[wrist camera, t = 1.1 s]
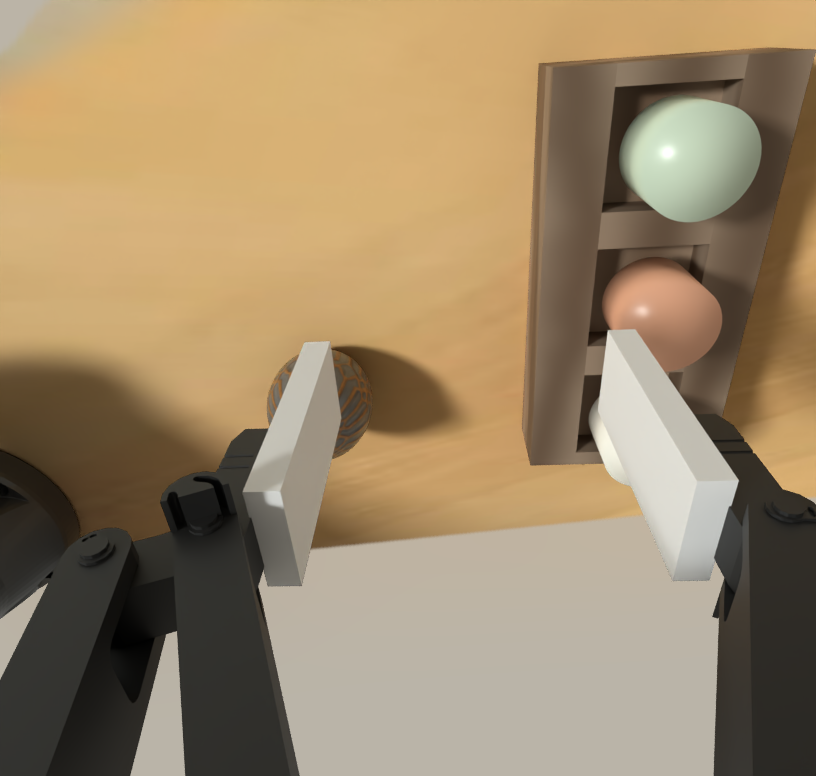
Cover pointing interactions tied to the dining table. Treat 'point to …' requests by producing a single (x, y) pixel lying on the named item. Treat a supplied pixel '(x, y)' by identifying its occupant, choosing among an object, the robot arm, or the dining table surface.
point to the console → (638, 226)
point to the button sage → (690, 156)
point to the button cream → (606, 446)
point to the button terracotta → (663, 310)
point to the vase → (350, 394)
